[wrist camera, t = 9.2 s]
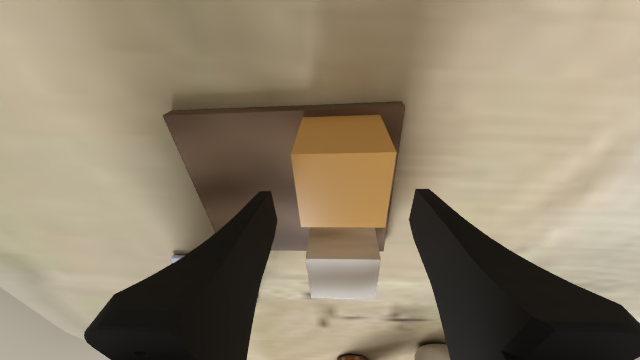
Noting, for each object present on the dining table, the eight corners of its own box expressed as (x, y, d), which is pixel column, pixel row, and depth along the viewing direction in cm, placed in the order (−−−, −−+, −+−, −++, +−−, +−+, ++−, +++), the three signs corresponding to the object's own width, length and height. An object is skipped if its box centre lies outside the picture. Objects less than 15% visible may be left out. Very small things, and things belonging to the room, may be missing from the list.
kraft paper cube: (374, 178, 18) (385, 227, 14) (308, 179, 18) (301, 227, 14) (380, 114, 15) (396, 152, 11) (302, 117, 15) (290, 154, 11)
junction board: (381, 243, 23) (393, 303, 19) (226, 242, 25) (200, 298, 20) (401, 101, 15) (431, 141, 11) (171, 110, 17) (103, 150, 12)
